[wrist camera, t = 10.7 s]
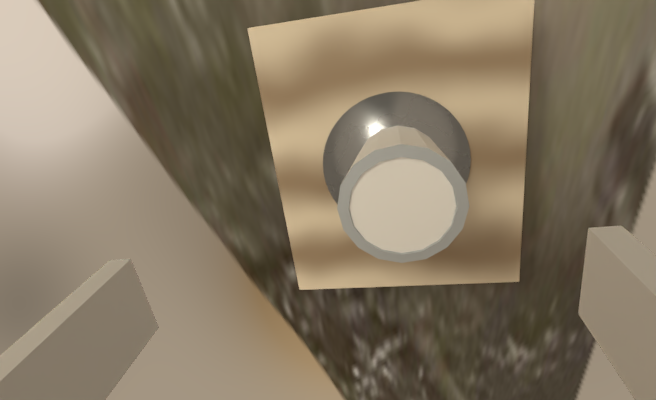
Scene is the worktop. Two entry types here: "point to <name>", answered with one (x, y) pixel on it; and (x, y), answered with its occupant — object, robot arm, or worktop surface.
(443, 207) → the tapered cream cylinder
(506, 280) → the birch stand
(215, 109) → the worktop surface
